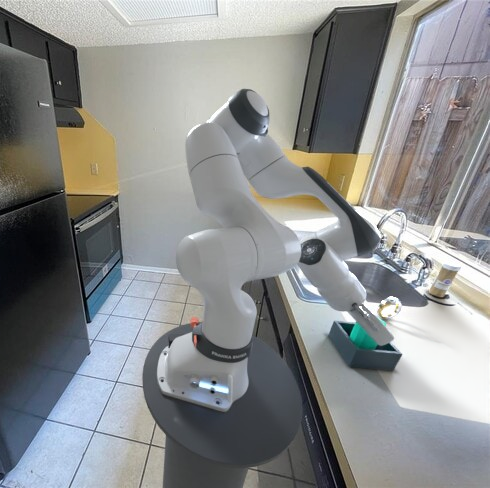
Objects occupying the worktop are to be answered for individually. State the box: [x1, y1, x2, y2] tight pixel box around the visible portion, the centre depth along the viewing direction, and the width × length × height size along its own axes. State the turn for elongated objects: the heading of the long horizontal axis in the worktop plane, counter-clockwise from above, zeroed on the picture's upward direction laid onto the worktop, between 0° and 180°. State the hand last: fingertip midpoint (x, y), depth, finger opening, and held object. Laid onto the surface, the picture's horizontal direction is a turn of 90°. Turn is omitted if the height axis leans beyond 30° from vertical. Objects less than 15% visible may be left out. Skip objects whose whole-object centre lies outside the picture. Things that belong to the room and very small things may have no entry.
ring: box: [376, 296, 403, 320], centre depth 84 cm, size 7×3×8 cm, turn 88°
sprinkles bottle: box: [428, 261, 462, 298], centre depth 98 cm, size 5×5×14 cm
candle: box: [350, 317, 387, 350], centre depth 69 cm, size 6×6×12 cm
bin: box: [327, 320, 403, 372], centre depth 71 cm, size 11×11×6 cm
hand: (369, 326), depth 67 cm, fingers open, 8 cm apart
